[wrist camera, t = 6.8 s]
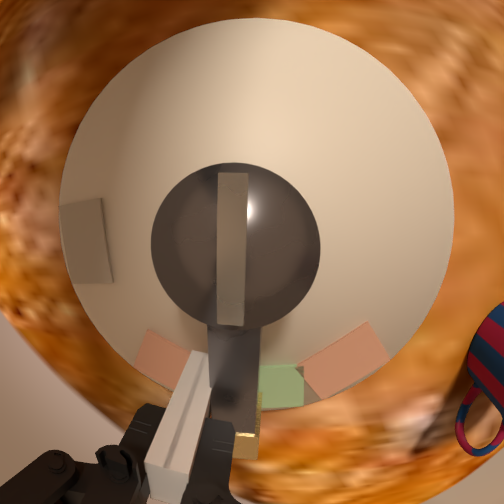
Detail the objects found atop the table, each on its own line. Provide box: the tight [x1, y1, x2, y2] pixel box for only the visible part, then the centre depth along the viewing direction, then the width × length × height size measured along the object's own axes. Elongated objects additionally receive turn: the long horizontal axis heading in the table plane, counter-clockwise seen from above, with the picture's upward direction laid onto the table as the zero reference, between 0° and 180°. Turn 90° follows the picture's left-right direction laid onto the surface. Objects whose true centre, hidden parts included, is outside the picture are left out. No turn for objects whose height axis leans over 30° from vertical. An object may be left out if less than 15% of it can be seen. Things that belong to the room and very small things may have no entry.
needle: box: [151, 162, 321, 460], centre depth 11 cm, size 12×5×4 cm, turn 178°
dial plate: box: [59, 18, 454, 411], centre depth 13 cm, size 20×20×2 cm
